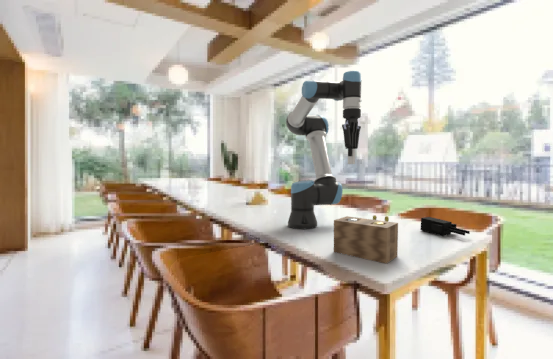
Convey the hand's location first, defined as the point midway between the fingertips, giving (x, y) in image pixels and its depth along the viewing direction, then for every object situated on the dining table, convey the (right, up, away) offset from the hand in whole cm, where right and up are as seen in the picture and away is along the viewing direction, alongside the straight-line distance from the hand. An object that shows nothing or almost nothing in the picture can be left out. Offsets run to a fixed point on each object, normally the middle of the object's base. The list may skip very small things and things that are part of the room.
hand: (351, 163), depth 134 cm
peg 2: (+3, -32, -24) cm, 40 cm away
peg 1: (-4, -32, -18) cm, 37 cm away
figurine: (+15, -32, +15) cm, 38 cm away
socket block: (0, -34, -21) cm, 40 cm away
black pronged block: (+44, -32, +6) cm, 55 cm away
